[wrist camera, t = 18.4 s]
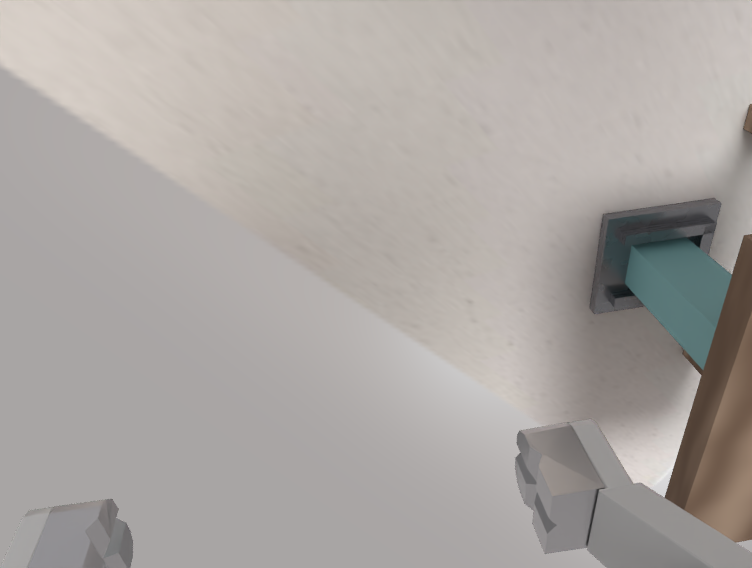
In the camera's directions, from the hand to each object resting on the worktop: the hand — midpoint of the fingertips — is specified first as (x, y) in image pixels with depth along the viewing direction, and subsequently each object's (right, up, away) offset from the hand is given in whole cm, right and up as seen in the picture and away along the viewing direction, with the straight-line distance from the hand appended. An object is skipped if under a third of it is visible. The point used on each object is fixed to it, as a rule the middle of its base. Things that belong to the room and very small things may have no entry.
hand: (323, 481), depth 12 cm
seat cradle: (+26, +7, +41) cm, 49 cm away
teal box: (+26, +6, +40) cm, 48 cm away
